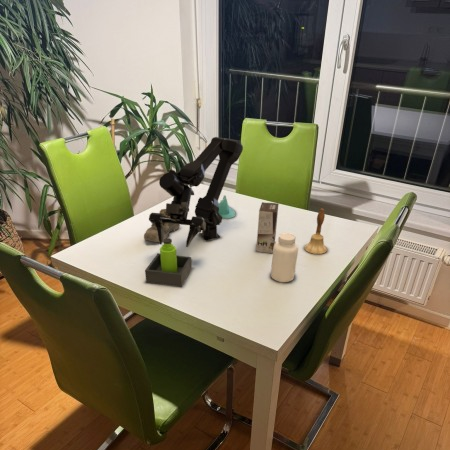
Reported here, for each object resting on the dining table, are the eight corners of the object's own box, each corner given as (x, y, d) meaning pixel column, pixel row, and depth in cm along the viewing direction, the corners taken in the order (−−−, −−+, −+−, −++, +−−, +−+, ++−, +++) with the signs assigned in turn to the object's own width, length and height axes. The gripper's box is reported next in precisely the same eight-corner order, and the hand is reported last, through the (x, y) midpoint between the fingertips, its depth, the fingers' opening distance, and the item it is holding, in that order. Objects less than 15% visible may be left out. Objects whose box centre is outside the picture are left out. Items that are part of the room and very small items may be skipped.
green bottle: (159, 272, 139) (156, 238, 132) (173, 268, 141) (171, 235, 134) (165, 279, 135) (162, 245, 128) (179, 275, 137) (178, 241, 130)
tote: (158, 264, 144) (157, 253, 141) (191, 268, 142) (191, 257, 140) (146, 282, 134) (144, 270, 132) (181, 286, 132) (181, 274, 130)
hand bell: (306, 242, 160) (312, 203, 151) (328, 246, 158) (335, 206, 149) (302, 252, 154) (308, 211, 145) (325, 255, 151) (332, 215, 142)
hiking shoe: (134, 236, 157) (146, 212, 150) (161, 222, 174) (174, 199, 167) (152, 252, 157) (166, 228, 150) (178, 235, 174) (191, 214, 167)
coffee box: (272, 253, 152) (276, 212, 143) (255, 251, 153) (258, 210, 144) (275, 242, 160) (279, 202, 151) (259, 241, 161) (261, 201, 152)
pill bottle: (288, 285, 134) (293, 243, 126) (266, 278, 137) (270, 237, 129) (298, 274, 140) (303, 234, 131) (276, 268, 143) (280, 228, 135)
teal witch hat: (220, 201, 196) (220, 183, 191) (242, 216, 181) (243, 197, 176) (197, 205, 191) (197, 187, 186) (217, 221, 176) (218, 201, 171)
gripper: (147, 189, 134) (139, 234, 131) (203, 194, 131) (195, 240, 128) (157, 203, 145) (149, 245, 142) (209, 208, 142) (202, 251, 139)
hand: (173, 245), depth 138 cm, fingers open, 9 cm apart
